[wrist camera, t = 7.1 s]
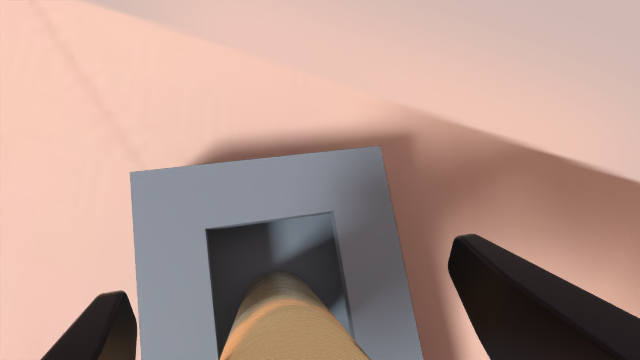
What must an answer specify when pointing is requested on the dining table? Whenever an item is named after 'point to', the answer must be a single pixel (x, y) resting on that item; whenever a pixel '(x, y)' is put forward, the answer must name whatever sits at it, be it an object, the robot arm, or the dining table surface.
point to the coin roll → (287, 324)
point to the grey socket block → (269, 249)
